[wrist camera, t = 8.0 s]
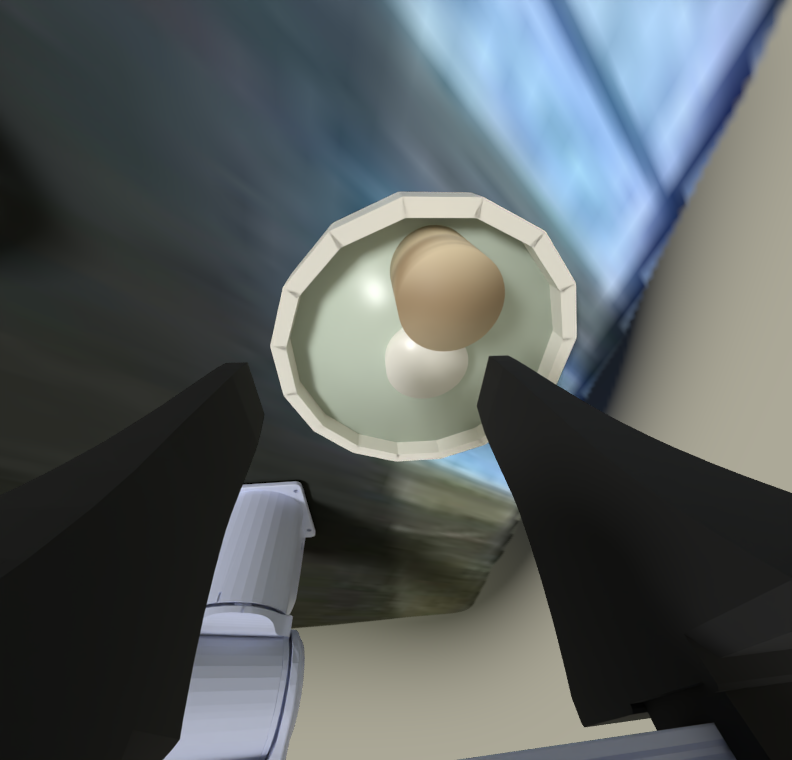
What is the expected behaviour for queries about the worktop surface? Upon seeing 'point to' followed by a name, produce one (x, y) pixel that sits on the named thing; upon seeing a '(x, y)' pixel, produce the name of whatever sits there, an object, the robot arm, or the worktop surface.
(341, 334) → the groove tray
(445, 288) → the maple bead
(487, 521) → the worktop surface
